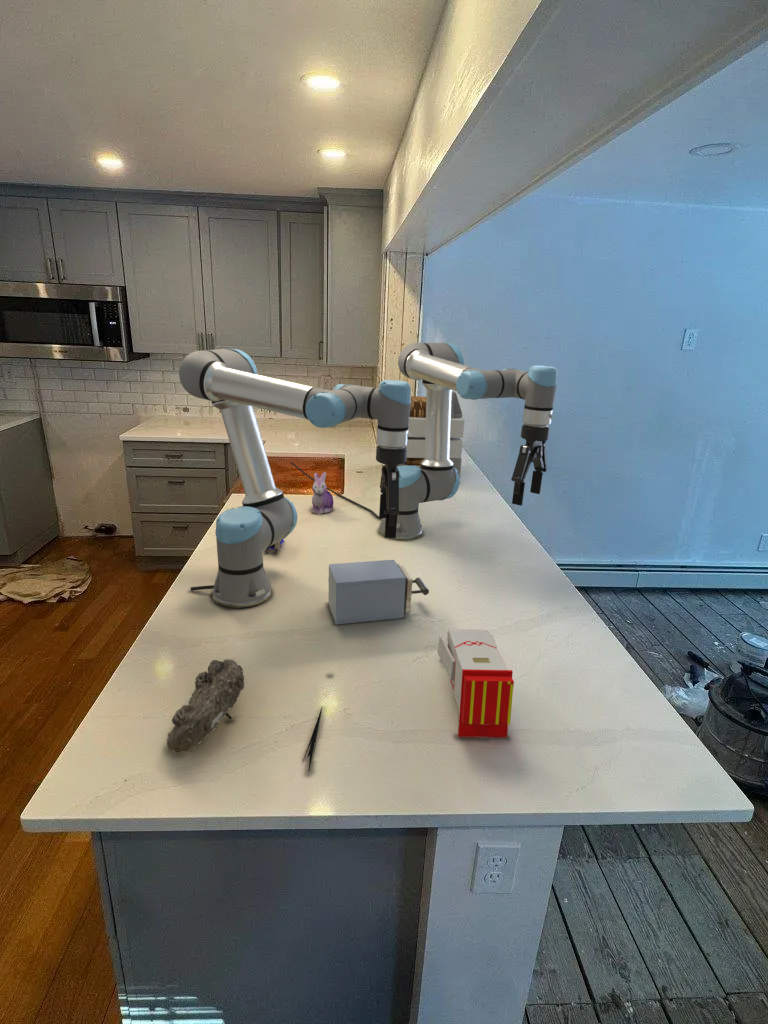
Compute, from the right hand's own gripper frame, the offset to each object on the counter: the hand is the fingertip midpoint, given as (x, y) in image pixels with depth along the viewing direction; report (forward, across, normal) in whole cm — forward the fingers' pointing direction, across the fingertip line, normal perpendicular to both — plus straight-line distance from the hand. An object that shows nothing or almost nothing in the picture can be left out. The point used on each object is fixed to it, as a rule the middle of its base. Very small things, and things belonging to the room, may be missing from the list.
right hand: (526, 498), depth 162 cm
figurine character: (+25, -30, +71) cm, 81 cm away
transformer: (+26, +79, +82) cm, 117 cm away
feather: (+25, -83, +6) cm, 87 cm away
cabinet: (+25, -44, +24) cm, 56 cm away
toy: (+25, -57, -14) cm, 64 cm away
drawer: (+24, -40, +20) cm, 51 cm away
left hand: (+3, -38, +22) cm, 44 cm away
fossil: (+25, -95, +22) cm, 100 cm away
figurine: (+26, +7, +82) cm, 86 cm away
